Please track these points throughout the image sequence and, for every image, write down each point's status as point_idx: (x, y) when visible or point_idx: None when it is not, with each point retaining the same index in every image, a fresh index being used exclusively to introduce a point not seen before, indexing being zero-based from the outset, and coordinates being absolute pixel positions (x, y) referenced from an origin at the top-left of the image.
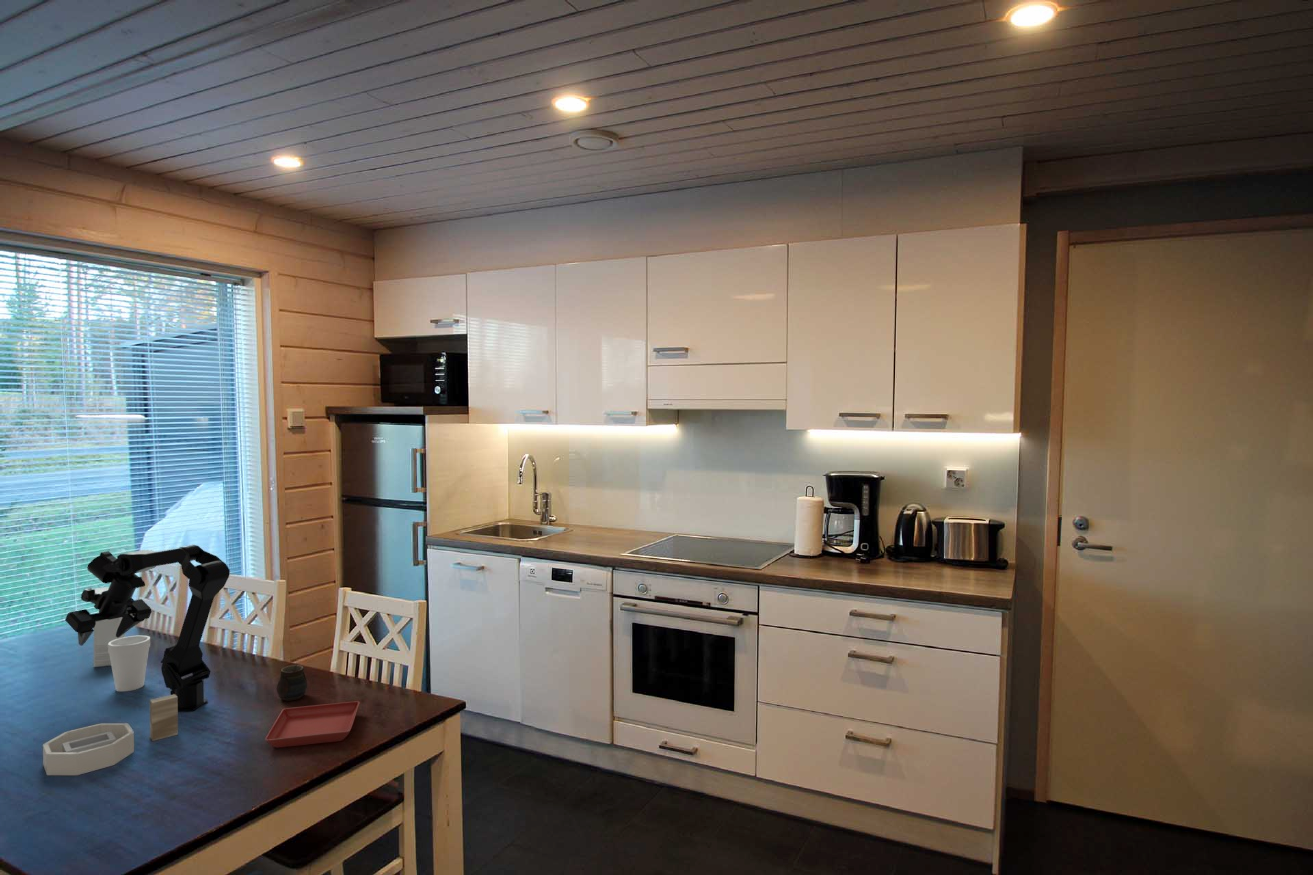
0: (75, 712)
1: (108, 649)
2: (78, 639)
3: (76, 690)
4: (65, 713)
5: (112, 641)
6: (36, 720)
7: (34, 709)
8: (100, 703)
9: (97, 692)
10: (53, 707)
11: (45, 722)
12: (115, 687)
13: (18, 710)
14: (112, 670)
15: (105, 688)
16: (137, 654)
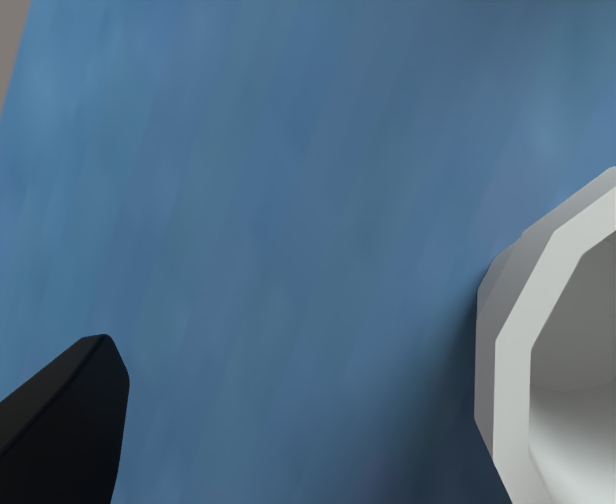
0: (177, 478)
1: (482, 340)
2: (22, 395)
3: (331, 69)
4: (141, 444)
5: (607, 232)
6: None
7: (70, 220)
8: (315, 456)
9: (390, 230)
10: (139, 280)
11: None
12: (477, 293)
13: (18, 160)
14: (480, 305)
15: (453, 192)
16: None
